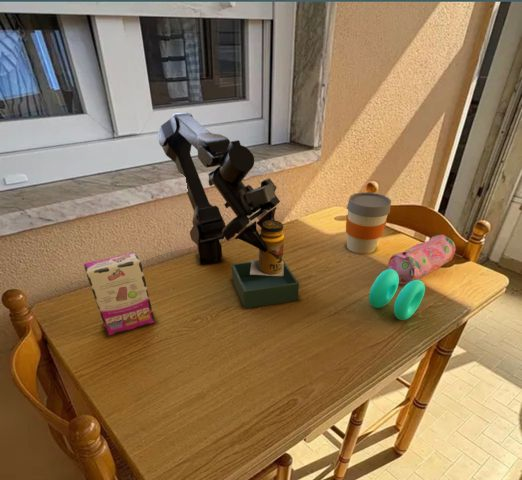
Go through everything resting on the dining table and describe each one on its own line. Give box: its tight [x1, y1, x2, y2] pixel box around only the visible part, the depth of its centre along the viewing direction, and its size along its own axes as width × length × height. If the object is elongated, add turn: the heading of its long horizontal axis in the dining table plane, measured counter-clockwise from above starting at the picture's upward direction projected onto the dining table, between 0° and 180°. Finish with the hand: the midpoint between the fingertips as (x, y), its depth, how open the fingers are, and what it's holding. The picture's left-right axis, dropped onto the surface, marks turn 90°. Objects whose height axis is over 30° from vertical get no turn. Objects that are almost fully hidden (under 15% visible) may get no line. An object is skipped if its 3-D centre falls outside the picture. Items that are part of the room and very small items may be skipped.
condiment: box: [250, 219, 285, 276], centre depth 94 cm, size 7×8×12 cm
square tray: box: [230, 259, 300, 309], centre depth 100 cm, size 14×14×5 cm
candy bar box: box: [83, 252, 156, 336], centre depth 85 cm, size 11×5×16 cm, turn 118°
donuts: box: [368, 268, 426, 321], centre depth 92 cm, size 10×10×10 cm
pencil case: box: [387, 234, 456, 285], centre depth 106 cm, size 21×9×9 cm, turn 127°
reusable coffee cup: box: [345, 192, 392, 255], centre depth 116 cm, size 13×13×15 cm
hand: (273, 245), depth 93 cm, fingers closed on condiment, 6 cm apart
